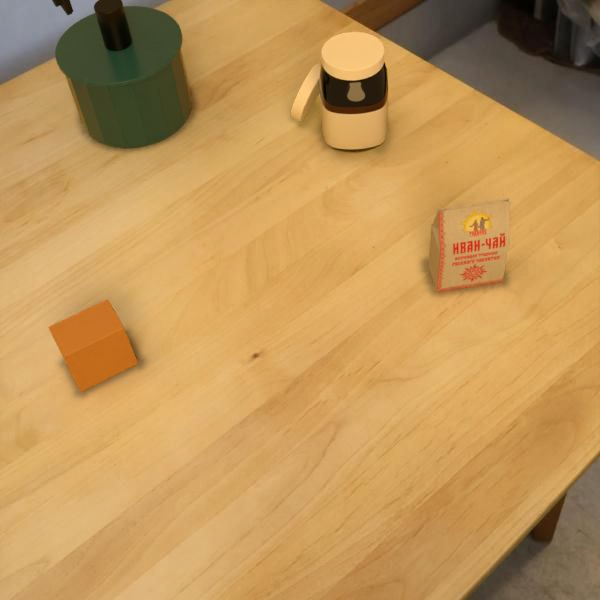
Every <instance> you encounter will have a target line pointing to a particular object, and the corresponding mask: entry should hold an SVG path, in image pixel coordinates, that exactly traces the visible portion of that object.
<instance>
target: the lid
mask: <svg viewBox="0 0 600 600" xmlns="http://www.w3.org/2000/svg"><path fill="white" fill-rule="evenodd" d="M93 10H94V13H91V14H89V15H87V16H85V17H83V18H81V19H80V20H78V21H76V22H75V23H73V24H72V25H71V26H70V27H68V28H67V30H65V31H64V32H63V33H62V35H61V36H60V37H59V39H58V40H57V43H56V46H55V51H54V57H55V62H56V64H57V67H58V68H59V70H60V71H61V72H62V73H63V74H64V76H65V75H66V76H67V77H68V78H70V79H72V80H74V81H76V82H78V83H81V84H85V85H89V86H95V87H116V86H123V85H129V84H132V83H136V82H139V81H142V80H145V79H147V78H149V77H151V76H153V75H155V74H157V73H159V72H160V71H162V70H163V69H165V68H166V67H167V66H168V65H169V64H171V63H172V61H173V60H174V59H175V58H176V57H177V55H178V54H179V52H180V49H181V50H182V46H183V39H184V38H183V32H182V28H181V26H180V25H179V23H178V22H177V20H175V19H174V17H172V16H171V15H169V14H168V13H166V12H164V11H162V10H159V9H156V8H153V7H148V6H141V5H140V6H139V5H125V6H124V3H123V0H97V1H96V2H95V3H94V5H93ZM66 76H65V77H66Z"/></svg>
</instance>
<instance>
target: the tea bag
mask: <svg viewBox="0 0 600 600" xmlns="http://www.w3.org/2000/svg"><path fill="white" fill-rule="evenodd" d="M511 202H512V201H511V200H510V198H503V199H497V200H489V201H483V202H476V203H469V204H464V205H456V206H450V207H443V208H438V209H437V212H436V214H435V217H434V219H433V221H432V224H430V225H431V226H430V237H429V250H428V261H427V265H428V269H429V271H430V275H431V278H432V281H433V286H434V288H435V291H436V293H440V292H445V291H453V290H459V289H466V288H473V287H479V286H484V285H485V286H486V285H493V284H497V283H498V284H499V283H503V282H504V276H505V272H506V266H507V262H508V261H507V260H508V255H509V250H510V245H511V204H512V203H511Z"/></svg>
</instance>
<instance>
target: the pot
mask: <svg viewBox="0 0 600 600" xmlns="http://www.w3.org/2000/svg"><path fill="white" fill-rule="evenodd" d="M64 76H65V79H66V82H67V84H68V87H69V90H70V93H71V96H72V98H73V101H74V105H75V107H76V111H77V113H78V115H79V119H80V121H81V123H82V125H83V127H84V129H85V132H87V134H88V135H89V137H91V138H92V139H93V140H94V141H96V142H98V143H99V144H101V145H105V146H108V147H112V148H117V149H136V148H143V147H147V146H152V145H154V144H156V143H160V142H162V141H164V140H166V139H168V138H169V137H171V136H173V135H174V134H176V133H177V132H178V131H179V130H180V129H181V128H182V127H183V126H184V125H185V124H186V122H187V121H188V119H189V117H190V115H191V111H192V109H193V108H192V107H193V105H192V104H193V102H192V97H191V90H190V85H189V81H188V75H187V70H186V65H185V61H184V57H183V52H182V48H181V49H180V52H179V54H178V55H177V57H176V58H175V59H174V60H173V61H172V63H171V64H169V65H168V66H167V67H166V68H165V69H163V70H162V71H160V72H159V73H157V74H155V75H153V76H151V77H149V78H147V79H145V80H142V81H139V82H136V83H132V84H129V85H123V86H116V87H95V86H89V85H85V84H81V83H78V82H76V81H74V80H72V79H70V78H68V77H67V76H66V75H65V74H64Z"/></svg>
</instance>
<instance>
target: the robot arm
mask: <svg viewBox="0 0 600 600" xmlns="http://www.w3.org/2000/svg"><path fill="white" fill-rule="evenodd" d="M51 1H52V3H53V5H54V6H55V7H56V8H58V7H61V9H62V10H63V11H64V13H65V14H66V15H67V16H70V15H72V14H73V13H74V9H73V6H72V2H71V0H51Z"/></svg>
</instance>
